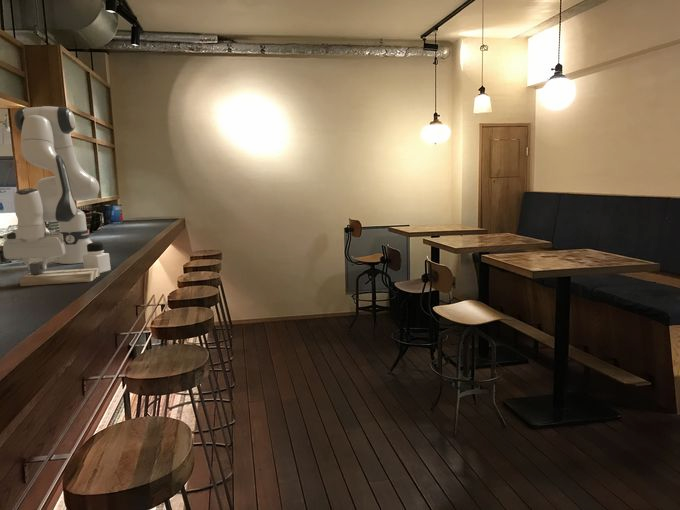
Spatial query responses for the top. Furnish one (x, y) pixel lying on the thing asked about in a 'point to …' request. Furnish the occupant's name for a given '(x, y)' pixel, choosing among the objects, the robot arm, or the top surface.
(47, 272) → the control strip
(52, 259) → the honey pot
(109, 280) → the top surface
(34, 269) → the fader knob
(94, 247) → the medicine bottle
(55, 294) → the top surface
